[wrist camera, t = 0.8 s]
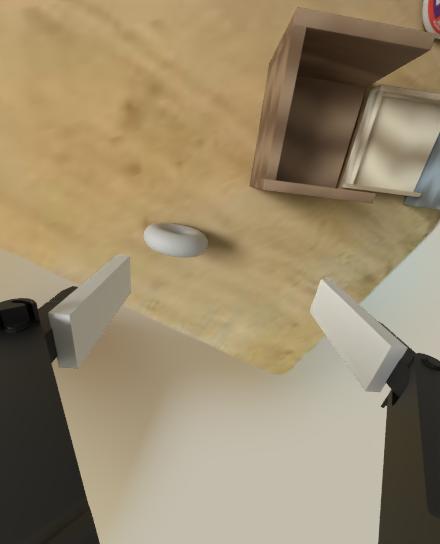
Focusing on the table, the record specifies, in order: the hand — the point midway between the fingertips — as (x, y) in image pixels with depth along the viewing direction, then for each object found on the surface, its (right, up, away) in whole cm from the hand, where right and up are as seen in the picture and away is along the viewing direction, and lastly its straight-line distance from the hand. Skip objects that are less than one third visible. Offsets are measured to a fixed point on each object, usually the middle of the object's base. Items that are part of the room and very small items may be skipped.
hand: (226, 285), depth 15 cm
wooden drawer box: (+12, +22, +19) cm, 31 cm away
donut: (-7, +8, +24) cm, 27 cm away
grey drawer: (+27, +20, +20) cm, 39 cm away
